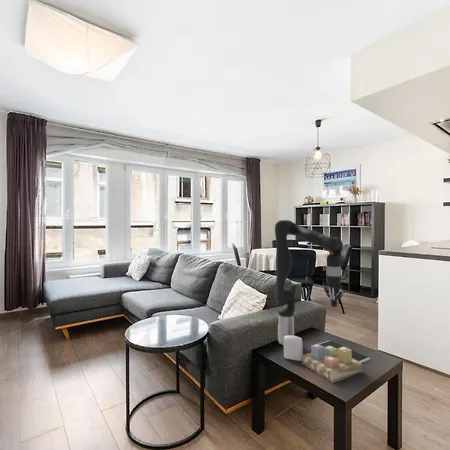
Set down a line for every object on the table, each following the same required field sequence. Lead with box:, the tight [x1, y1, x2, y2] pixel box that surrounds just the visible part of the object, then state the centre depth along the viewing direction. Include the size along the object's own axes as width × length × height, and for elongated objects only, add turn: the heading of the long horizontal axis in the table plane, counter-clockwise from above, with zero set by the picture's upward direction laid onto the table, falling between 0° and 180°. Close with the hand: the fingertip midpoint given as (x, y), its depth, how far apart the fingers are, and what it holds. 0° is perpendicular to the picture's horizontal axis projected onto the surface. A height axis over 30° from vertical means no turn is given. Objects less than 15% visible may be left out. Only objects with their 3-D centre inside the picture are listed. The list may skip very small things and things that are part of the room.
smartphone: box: [318, 340, 371, 364], centre depth 161 cm, size 13×27×2 cm, turn 29°
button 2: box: [324, 346, 337, 357], centre depth 151 cm, size 5×5×6 cm
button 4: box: [337, 346, 353, 364], centre depth 143 cm, size 5×5×6 cm
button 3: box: [324, 356, 339, 369], centre depth 138 cm, size 5×5×6 cm
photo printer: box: [283, 335, 304, 362], centre depth 155 cm, size 10×4×12 cm, turn 66°
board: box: [301, 351, 363, 384], centre depth 145 cm, size 20×20×4 cm
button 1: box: [310, 343, 325, 361], centre depth 146 cm, size 5×5×6 cm
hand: (334, 306), depth 154 cm, fingers closed
